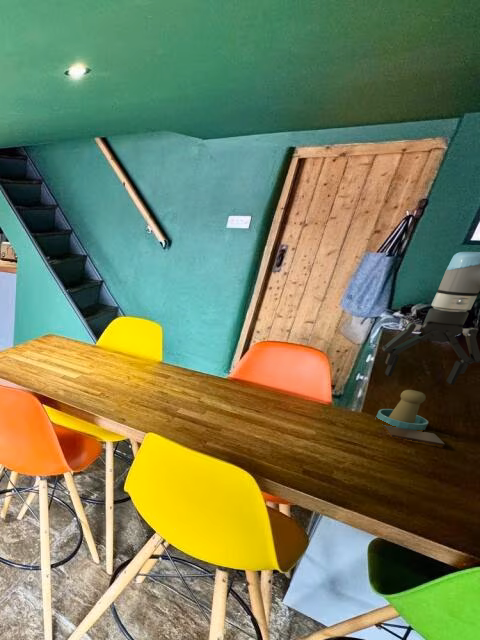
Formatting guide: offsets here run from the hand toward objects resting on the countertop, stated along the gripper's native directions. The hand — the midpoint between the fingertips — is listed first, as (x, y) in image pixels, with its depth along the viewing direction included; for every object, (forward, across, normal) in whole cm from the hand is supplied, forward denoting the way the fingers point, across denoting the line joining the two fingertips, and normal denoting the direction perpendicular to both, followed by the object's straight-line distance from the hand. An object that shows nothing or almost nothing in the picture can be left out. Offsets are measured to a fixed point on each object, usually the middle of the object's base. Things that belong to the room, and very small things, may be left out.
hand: (418, 379), depth 122 cm
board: (+16, 0, -10) cm, 19 cm away
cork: (+15, 0, 0) cm, 15 cm away
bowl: (+16, 0, 0) cm, 16 cm away
